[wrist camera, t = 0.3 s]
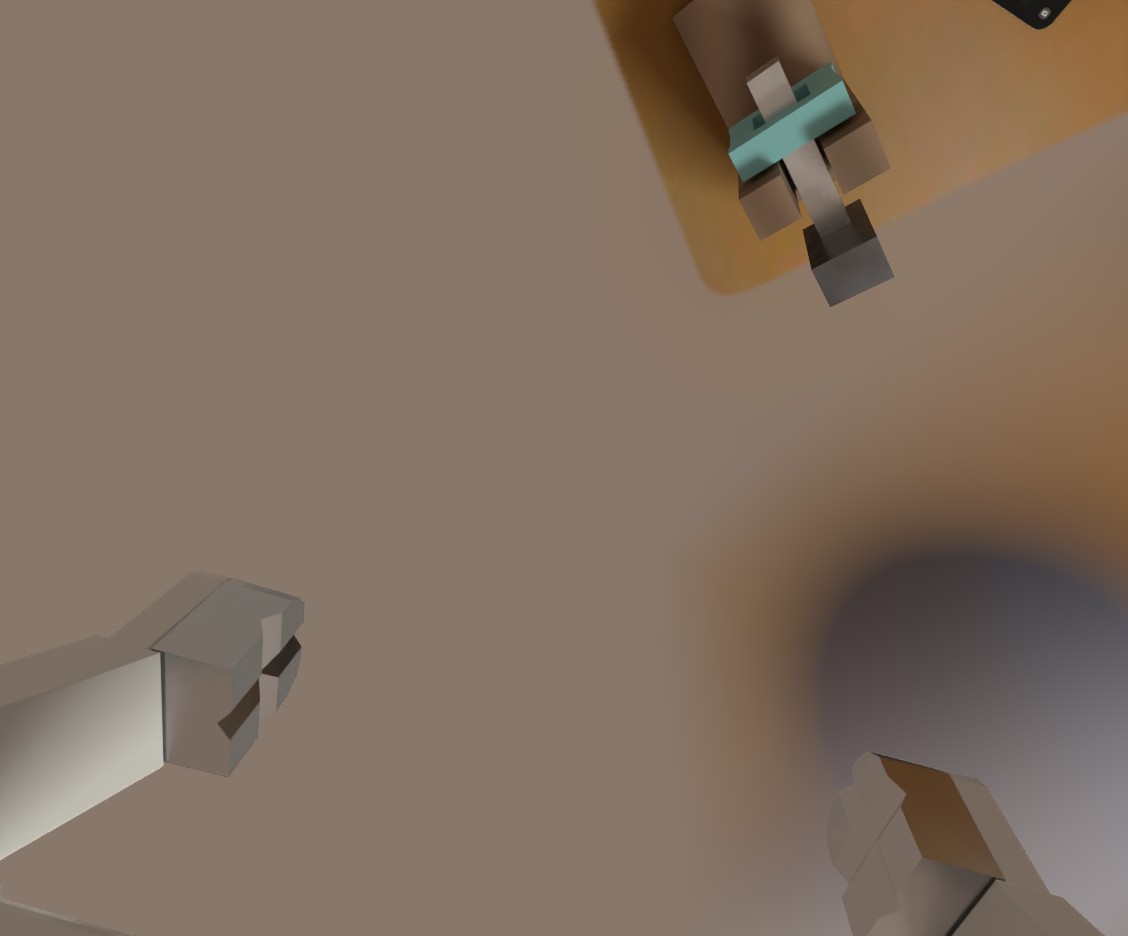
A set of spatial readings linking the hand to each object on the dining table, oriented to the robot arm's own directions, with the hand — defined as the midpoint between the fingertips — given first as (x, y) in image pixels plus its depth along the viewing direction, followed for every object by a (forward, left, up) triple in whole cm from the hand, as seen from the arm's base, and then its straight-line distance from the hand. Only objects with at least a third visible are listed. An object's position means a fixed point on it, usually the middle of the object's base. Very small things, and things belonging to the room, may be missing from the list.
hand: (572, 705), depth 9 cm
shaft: (-4, +8, -44) cm, 45 cm away
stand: (-4, +4, -51) cm, 51 cm away
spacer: (-4, +4, -46) cm, 46 cm away
